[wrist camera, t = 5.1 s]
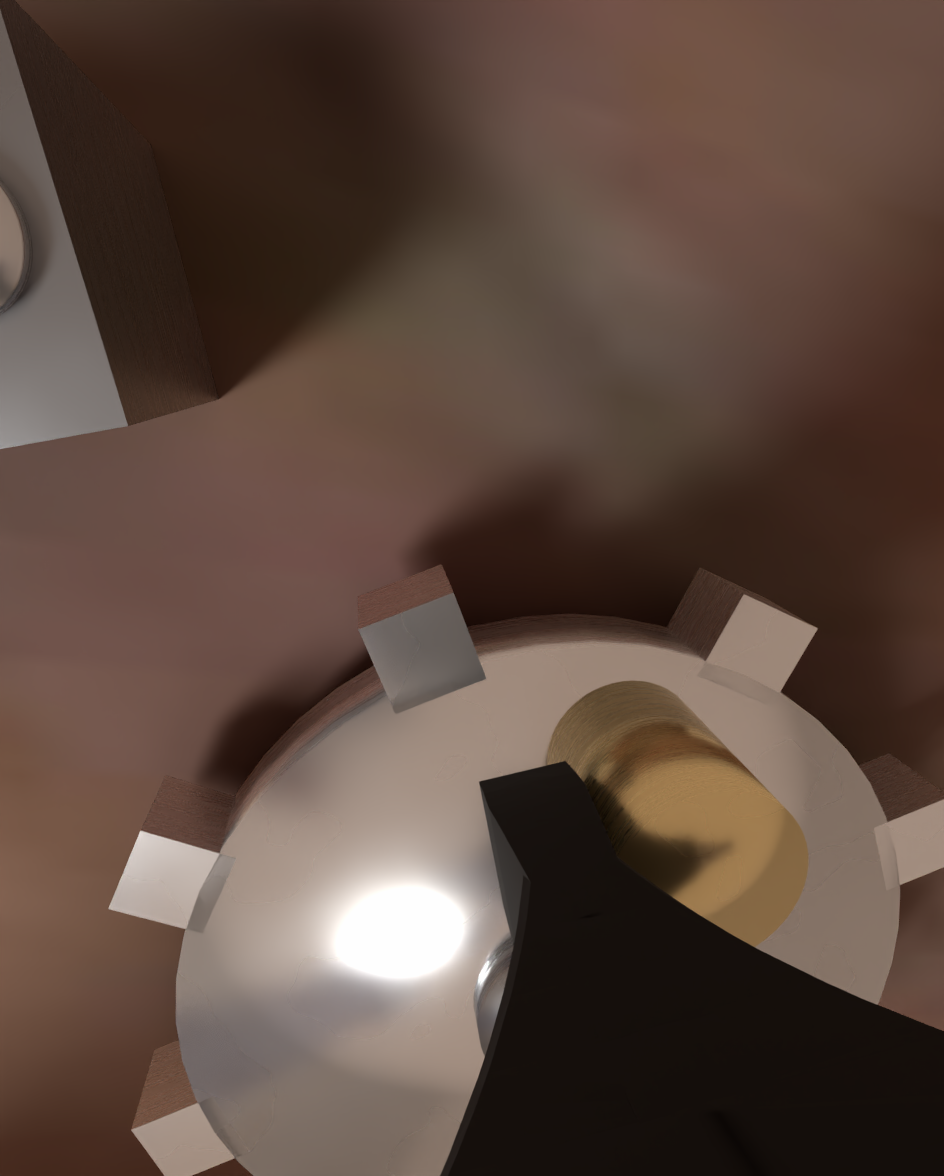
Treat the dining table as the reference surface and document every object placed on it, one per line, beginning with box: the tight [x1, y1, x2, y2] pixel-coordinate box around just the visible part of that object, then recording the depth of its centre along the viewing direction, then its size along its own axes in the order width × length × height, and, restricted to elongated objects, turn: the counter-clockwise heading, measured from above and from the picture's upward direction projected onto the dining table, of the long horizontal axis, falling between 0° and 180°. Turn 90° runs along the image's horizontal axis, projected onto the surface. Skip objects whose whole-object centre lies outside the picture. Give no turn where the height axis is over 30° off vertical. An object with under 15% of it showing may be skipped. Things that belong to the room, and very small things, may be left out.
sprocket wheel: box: [109, 564, 944, 1176], centre depth 12 cm, size 15×15×4 cm
